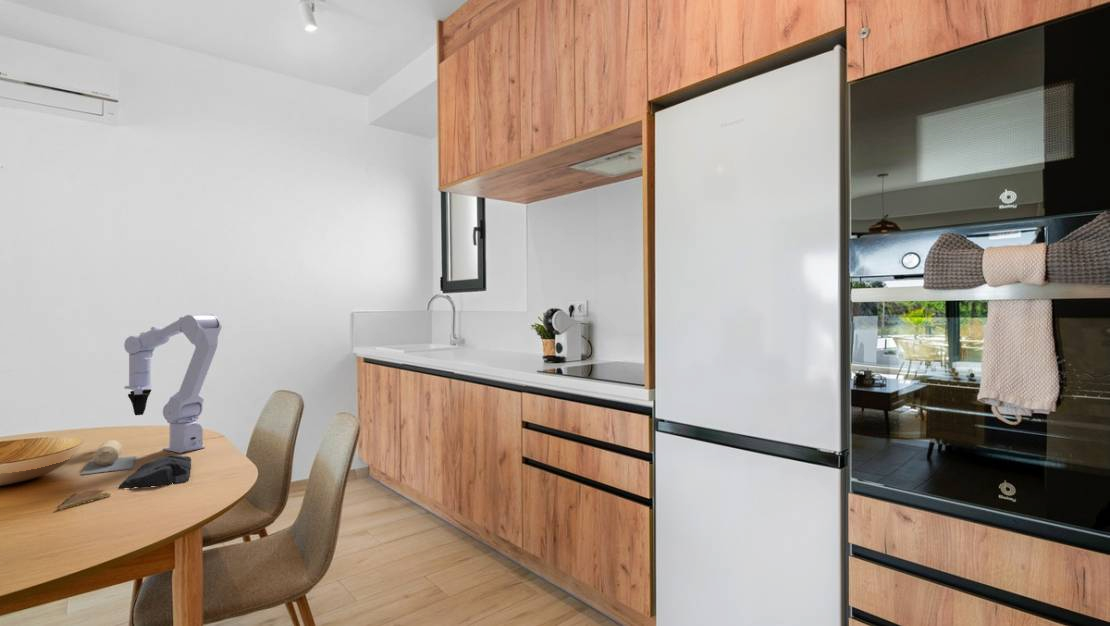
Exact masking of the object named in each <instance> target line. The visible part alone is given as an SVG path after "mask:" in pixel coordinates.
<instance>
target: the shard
mask: <svg viewBox="0 0 1110 626" xmlns="http://www.w3.org/2000/svg"><path fill="white" fill-rule="evenodd" d="M110 495H111V496H112V494H111V492H109V491H108V490H106V489H102V488H98V487H95V488H91V489H87V490H83V491H80V492H77V493H73V494H71V495H70V496H69V497H67V498H66V499H64V500H63V501H62V502H61V503H60V504H59V505H58V506H56V509H58V510H60V511H62V510H61V509H64V510H66V509H65V508H67V509H69V508H68V507H70V508H72V507H71V506H74V505H77V504H80V505H82V504H81V503H84V502H87V503H89V502H88V501H91V500H95V499H99V498H102V497H106V496H110ZM111 496H110V497H111ZM102 499H103V498H102ZM99 500H100V499H99ZM95 501H96V500H95ZM91 502H92V501H91ZM84 504H85V503H84ZM77 506H78V505H77ZM74 507H75V506H74Z"/></svg>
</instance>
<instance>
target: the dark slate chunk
mask: <svg viewBox="0 0 1110 626" xmlns="http://www.w3.org/2000/svg"><path fill="white" fill-rule="evenodd" d="M191 470H192V458H191V457H190V456H187V455H184V456H183V455H173V454H171V455H170V454H169V455H167V456H163V457H161V458H158V459H156V460H152V461H150V462H147V463H145V464H142V465H141V466H139V468H137V471H136V470H135V472H133V473H131V474H129V475H128V476H127V477H126V479H124V480H123V481H122V482H121V483H120V484H119V486H118V488H134V487H151V486H159V487H162V486H161V485H167V486H170V485H169V484H171V485H178V484H182V483H181V482H184V483H187V482H189V480H190V477H191ZM186 481H187V482H186ZM172 483H173V484H172ZM177 483H178V484H177ZM151 488H152V487H151Z"/></svg>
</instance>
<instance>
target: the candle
mask: <svg viewBox="0 0 1110 626" xmlns="http://www.w3.org/2000/svg"><path fill="white" fill-rule="evenodd" d="M122 452H123V445H122V444H121V443H120V441H118V440H114V439H110V440H106V441H104V442H103V443H101V445H100V446H99V447H98V448H97V450H96V451H94V454H93V461H95V462H96V463H97V464H99V465H103V466H105V465H110V464H112V463H114V462H115V461H116V460H117V458H120V455H121V453H122Z"/></svg>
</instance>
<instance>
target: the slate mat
mask: <svg viewBox="0 0 1110 626" xmlns="http://www.w3.org/2000/svg"><path fill="white" fill-rule="evenodd" d="M136 458H137V455H134V456H125V457H118V458H117V460H116V461H115V462H114V463H112V464H110V465H105V466H103V465H99V464H97V463H96V462H95V460H89V461H88V462H87V464H86V466H85V467H84V469H83V470H82V472H81V473H80V476H86V475H85V474H89V475H94V474H93V473H97V474H101V473H100V472H105V473H110V472H109V471H113V472H119V471H118V470H121V471H126V470H125V469H129V470H132V469H133V466H134V464H135V462H136ZM134 461H135V462H134Z"/></svg>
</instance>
